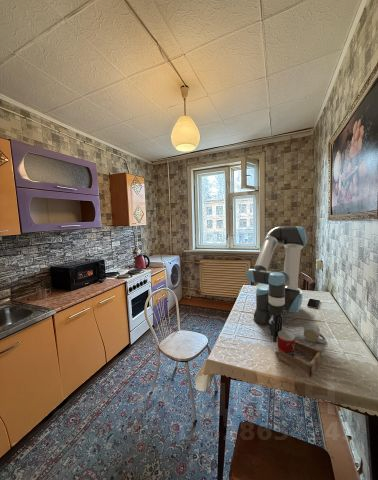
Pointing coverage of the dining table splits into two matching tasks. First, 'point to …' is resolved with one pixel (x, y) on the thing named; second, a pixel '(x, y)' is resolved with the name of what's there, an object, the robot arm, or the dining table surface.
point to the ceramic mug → (313, 333)
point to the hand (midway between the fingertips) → (275, 346)
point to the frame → (300, 364)
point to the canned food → (286, 342)
